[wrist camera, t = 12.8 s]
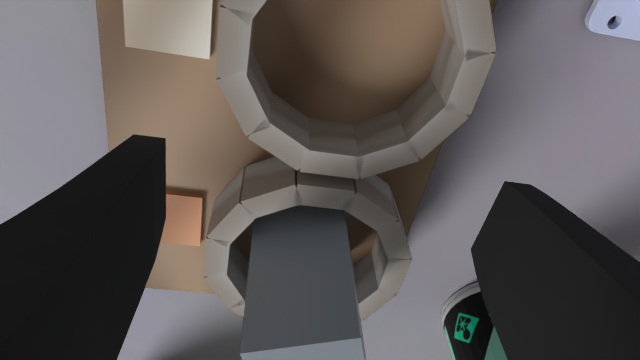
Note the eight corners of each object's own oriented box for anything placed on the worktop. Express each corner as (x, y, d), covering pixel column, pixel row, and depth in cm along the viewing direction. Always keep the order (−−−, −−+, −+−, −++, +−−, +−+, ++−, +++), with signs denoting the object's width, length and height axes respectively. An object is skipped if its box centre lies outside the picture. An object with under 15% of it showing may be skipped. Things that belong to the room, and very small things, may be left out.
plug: (341, 188, 22) (360, 338, 15) (351, 250, 24) (371, 402, 18) (255, 201, 22) (239, 353, 16) (273, 261, 24) (266, 416, 18)
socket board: (520, -95, 16) (568, -80, 13) (376, 294, 28) (385, 346, 25) (91, -189, 14) (41, -194, 12) (126, 271, 26) (105, 325, 23)
